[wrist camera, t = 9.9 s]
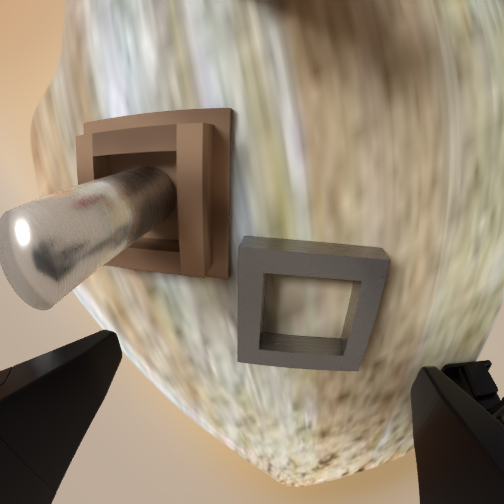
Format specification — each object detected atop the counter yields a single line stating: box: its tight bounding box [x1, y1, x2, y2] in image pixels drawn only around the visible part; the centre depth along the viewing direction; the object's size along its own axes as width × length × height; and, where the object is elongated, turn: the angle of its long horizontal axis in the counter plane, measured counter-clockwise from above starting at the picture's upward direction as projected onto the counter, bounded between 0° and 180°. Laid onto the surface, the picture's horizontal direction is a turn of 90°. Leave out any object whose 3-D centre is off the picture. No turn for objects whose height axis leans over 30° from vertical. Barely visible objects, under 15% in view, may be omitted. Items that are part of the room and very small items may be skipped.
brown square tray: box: [76, 108, 232, 279], centre depth 17 cm, size 11×11×2 cm
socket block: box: [238, 236, 390, 371], centre depth 19 cm, size 9×9×2 cm
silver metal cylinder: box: [0, 166, 176, 310], centre depth 13 cm, size 4×4×11 cm
